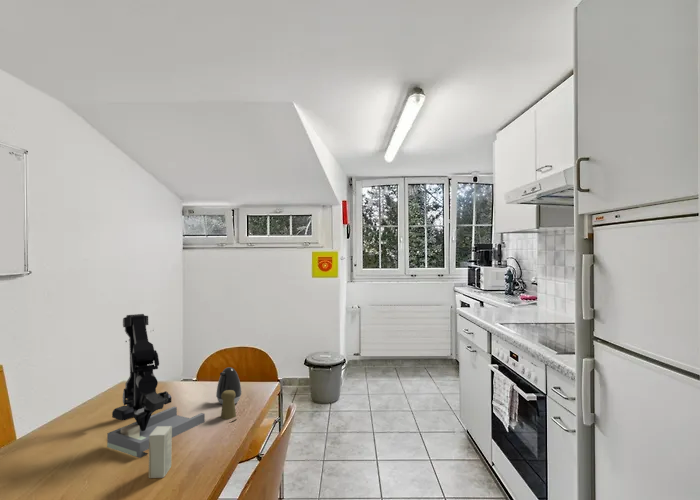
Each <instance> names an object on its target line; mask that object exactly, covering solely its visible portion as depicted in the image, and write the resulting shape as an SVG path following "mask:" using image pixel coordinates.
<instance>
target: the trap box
mask: <svg viewBox="0 0 700 500" xmlns="http://www.w3.org/2000/svg"><path fill="white" fill-rule="evenodd" d="M177 412H178V411H177V406H172V407H170V408H167V409H165V410H162V411H159V412H157V413H153V414H151V417H150V419H149V422H148V424H147V427H146V430H145V431H141V429H140V438H138V439H135V438H132V437H129V436H125V435H122V434H121V428H122V427H119V428H117V429H115V430H112V431H109V432H107V437H106V438H107V440H106V442H107V448H109V449H112V450H115V451H118V452H121V453H123V454H127V455H129V456H134V457H136V458H138V459H141V458H143V457H145V456H147V455H149V452H148V453H147V452H145V451H147V450H148V451H149V435H150V434H151V433H152V432H153V430H154V429H155V428H156V427H157V426H172V438H174V437H177V436H178V435H181V434H183V433H185V432H187V431H189V430H191V429H193V428H195V427H198V426H200V425H201V424H203V423H205V421H206V420H205V418H206V417H205V415H206V414H205V413H204V412H203V413H202V412H200V413H198V414H196V415H195V416H194V415H193V416H192V417H186V416H183V415H178V413H177ZM130 424H135V425H138V423H137V422H136V421H134V422H132V423H129V424H128V425H130ZM125 426H126V425H125ZM125 426H123V427H125Z"/></svg>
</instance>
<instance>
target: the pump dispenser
mask: <svg viewBox="0 0 700 500" xmlns="http://www.w3.org/2000/svg"><path fill="white" fill-rule="evenodd" d="M219 375H220V376H219V379H218V382H217V387H216V392H215V394H216V398H217V399H216V400H217V402H218V403H219V404H220V405H222V404H223V400H222V398H221V395H222V393H223V392H224V391H226V390H233V391H235V394H236V396H235V399H234V403H235V405H236V404H237V403H238V402H239V400H240V398H241V395H242V386H241V381H240V378H239V374H238V373H237V371H236V370H235V368H233V367H231V366H230V367H229V366H228V367H226V368H224V369H223V371H222V372H220V373H219Z"/></svg>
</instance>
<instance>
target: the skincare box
mask: <svg viewBox="0 0 700 500" xmlns="http://www.w3.org/2000/svg"><path fill="white" fill-rule="evenodd" d="M172 439H173V437H172V426H157V427H156V428H155V429H154V430H153V432H152V433H151V434H150V435H149V449H148V479H155V478H158V479H161V478H163V479H164V478H165V476H167V473H168V472H169V471H170V470H171V467H172V449H173V448H172V446H173V445H172V442H173V441H172Z"/></svg>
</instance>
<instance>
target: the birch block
mask: <svg viewBox="0 0 700 500" xmlns="http://www.w3.org/2000/svg"><path fill="white" fill-rule="evenodd" d="M129 424H130V425H129ZM129 424H127V425H125V427H124V426H122V427H120V428H121V434H122V435H125V436H129V437H132V438H135V439H138V438H140V426H139V425H135V424H132V423H129Z"/></svg>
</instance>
